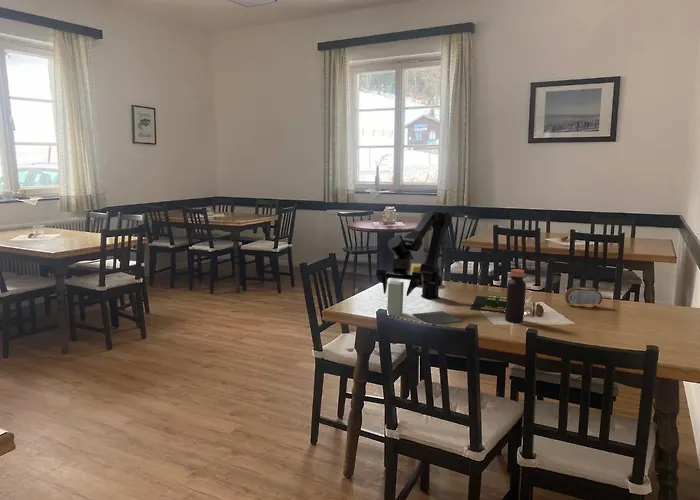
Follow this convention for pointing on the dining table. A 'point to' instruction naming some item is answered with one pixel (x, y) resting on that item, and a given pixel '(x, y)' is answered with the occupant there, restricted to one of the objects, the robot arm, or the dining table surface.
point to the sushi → (489, 303)
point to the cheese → (415, 269)
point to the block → (395, 298)
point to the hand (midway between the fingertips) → (395, 294)
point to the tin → (583, 296)
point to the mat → (437, 317)
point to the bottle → (515, 297)
